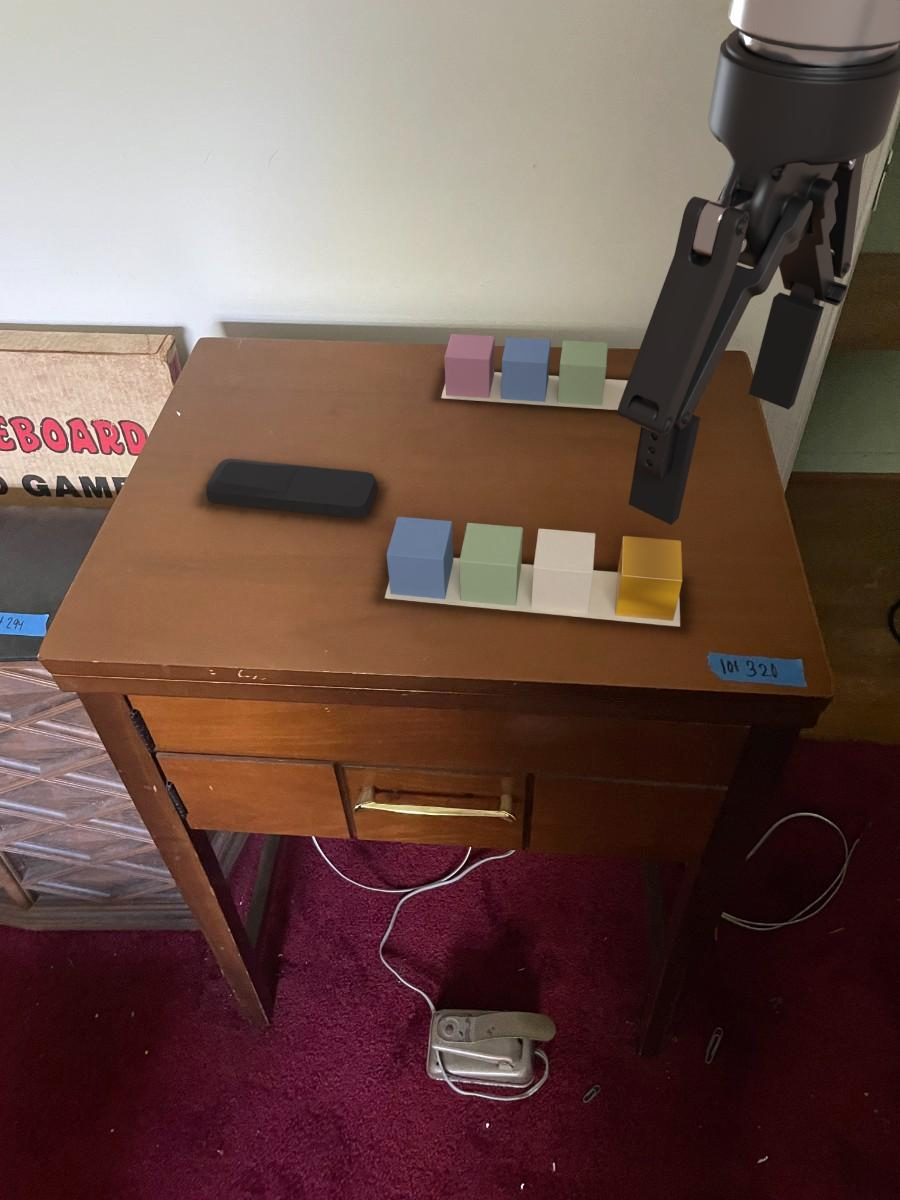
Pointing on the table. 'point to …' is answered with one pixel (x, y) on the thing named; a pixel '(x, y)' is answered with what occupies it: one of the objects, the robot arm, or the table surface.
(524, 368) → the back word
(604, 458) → the table surface
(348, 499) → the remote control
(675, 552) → the block
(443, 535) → the white strip with cubes
